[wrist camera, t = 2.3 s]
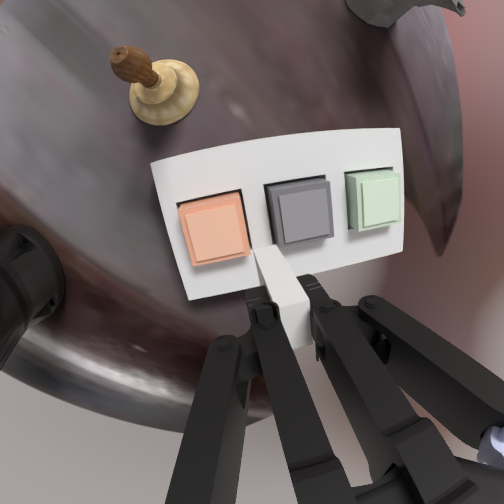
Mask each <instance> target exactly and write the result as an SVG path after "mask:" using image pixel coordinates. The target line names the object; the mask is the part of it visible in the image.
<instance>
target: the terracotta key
mask: <svg viewBox="0 0 504 504" xmlns="http://www.w3.org/2000/svg"><path fill="white" fill-rule="evenodd" d="M178 213H179V217H180V221H181V225H182V229H183V233H184V236H185V240H186V244H187V247H188V251H189V255H190V258H191V262H192V265H193V267H194V266H199V265H204V264H209V263H214V262H218V261H223V260H228V259H233V258H237V257H242V256H247V255H251V252H250V247H249V242H248V236H247V231H246V226H245V220H244V215H243V210H242V205H241V199H240V196H239V193H238V191H237V192H232V193H227V194H222V195H217V196H213V197H208V198H203V199H199V200H194V201H190V202H186V203H182V204H181V205H180V207H179V209H178Z"/></svg>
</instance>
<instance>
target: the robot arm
mask: <svg viewBox="0 0 504 504" xmlns="http://www.w3.org/2000/svg"><path fill="white" fill-rule="evenodd" d="M253 253H254V258H255V263H256V268H257V273H258V278H259V283H260V286H259V287H255V288H251V289H247V290H246V293H245V295H244V296H245V300H246V304H247V309H248V314H249V318H250V322H251V327H250V329H249V330H248V332H247V333H245V334H244V335H242V336H240V337H238V338H237V337H235V336H233V335H222V336H219V337H217V338H215V339H214V340H213V341H212V342H211V344H210V345H209V348H208V352H207V355H206V359H205V362H204V365H203V369H202V372H201V376H200V379H199V382H198V386H197V389H196V393H195V396H194V400H193V403H192V407H191V410H190V414H189V417H188V421H187V424H186V428H185V431H184V435H183V439H182V442H181V446H180V449H179V453H178V456H177V460H176V464H175V467H174V471H173V475H172V478H171V482H170V486H169V489H168V493H167V497H166V501H165V504H235V502H236V495H237V487H238V480H239V473H240V466H241V458H242V450H243V443H244V435H245V427H246V420H247V412H248V403H249V395H250V387H251V379H253V378H255V377H257V376H258V375H260V374H262V373H263V374H264V378H265V382H266V386H267V390H268V394H269V398H270V402H271V406H272V409H273V413H274V417H275V421H276V424H277V428H278V432H279V436H280V440H281V443H282V447H283V451H284V454H285V458H286V462H287V465H288V469H289V473H290V477H291V480H292V483H293V487H294V491H295V494H296V498H297V501H298V504H504V381H503V380H502V379H501V378H499V377H498V376H496V375H495V374H494V373H492V372H491V371H489V370H488V369H487V368H485V367H484V366H483V365H481V364H480V363H478V362H477V361H475V360H474V359H473V358H471V357H470V356H468V355H467V354H465V353H464V352H462V351H461V350H460V349H458V348H457V347H455V346H454V345H452V344H451V343H450V342H448V341H447V340H445V339H444V338H442V337H441V336H439V335H438V334H436V333H435V332H433V331H432V330H430V329H429V328H427V327H426V326H424V325H423V324H421V323H420V322H418V321H417V320H415V319H414V318H412V317H410V316H409V315H408V314H406V313H404V312H403V311H401V310H400V309H399V308H397V307H395V306H394V305H392V304H391V303H389V302H388V301H386V300H385V299H383V298H381V297H379V296H375V295H369V296H365V297H362V298H361V299H360V300H359V302H358V305H357V306H342V305H341V304H340V303H339V302H338V301H336V300H333V299H331V298H330V297H329V296H328V294H327V293H326V291H325V290H324V289H323V287H322V286H321V285H320V283H319V282H318V280H317V279H316V278H315V277H314V276H312V275H310V274H305V275H301V276H297V277H296V276H295V275H294V273H293V271H292V270H291V268H290V267H289V265H288V263H287V262H286V260H285V258H284V257H283V255H282V254H281V252H280V250H279V249H278V247H277V245H276V244H275V245H270V246H266V247H262V248H257V249H253ZM64 291H65V282H64V275H63V271H62V267H61V264H60V262H59V260H58V257H57V255H56V253H55V252H54V250H53V248H52V247H51V245H50V244H49V243H48V242H47V240H46V239H45V238H44V237H43V236H42V235H41V234H40V233H38V232H37V231H36V230H34V229H33V228H31V227H28V226H26V225H13V226H11V227H9V228H7V229H5V230H4V231H2V232H1V233H0V370H1V368H2V367H3V365H4V363H5V362H6V360H7V358H8V357H9V355H10V354H11V352H12V350H13V349H14V347H15V346H16V344H17V343H18V341H19V340H20V338H21V337H22V335H23V334H24V332H25V331H26V330H27V329H28V328H29V327H31V326H33V325H35V324H36V323H38V322H40V321H42V320H44V319H46V318H48V317H49V316H50V315H52V314H53V313H54V311H55V310H56V309H57V308H58V306H59V305H60V303H61V302H62V299H63V296H64ZM382 334H383V335H384V336H383V335H382ZM312 337H313V339H314V341H315V344H316V360H317V361H319V358H320V360H321V362H322V364H323V366H324V368H325V370H326V373H327V375H328V377H329V379H330V381H331V383H332V385H333V387H334V389H335V392H336V394H337V396H338V398H339V400H340V402H341V404H342V406H343V409H344V411H345V413H346V415H347V417H348V419H349V421H350V423H351V425H352V428H353V430H354V432H355V434H356V437H357V439H358V441H359V443H360V445H361V447H362V450H363V452H364V454H365V456H366V458H367V461H368V464H369V471H370V476H371V479H372V481H373V484H368V485H363V486H358V487H351V486H350V483H349V481H348V478H347V476H346V474H345V471H344V468H343V466H342V464H341V462H340V460H339V459H338V458H337V457H336V456H335V455H334V453H333V450H332V448H331V445H330V443H329V441H328V438H327V435H326V433H325V430H324V428H323V425H322V423H321V420H320V417H319V415H318V413H317V410H316V408H315V405H314V402H313V400H312V398H311V395H310V392H309V390H308V387H307V385H306V382H305V380H304V377H303V375H302V372H301V369H300V367H299V364H298V362H297V360H296V357H295V354H294V352H293V350H294V349H297V348H301V347H304V346H308V345H311V344H313V339H312ZM399 387H401V388H402V389H403V390H404V391H405V392H406V393H407V394H408V395H409V396H411V397H412V398H413V399H414V400H415V401H416V402H418V404H420V405H421V406H422V407H423V408H424V409H425V410H427V411H428V412H429V413H430V414H431V415H432V416H433V417H434V418H435V419H437V420H438V421H439V422H440V423H441V424H442V425H443V426H444V427H446V428H447V429H448V430H449V431H450V432H451V433H452V434H453V435H455V436H456V437H457V438H458V439H460V440H461V441H462V442H464V443H465V444H467V445H469V446H471V447H472V448H475V449H477V450H479V452H478V454H477V460H478V461H479V462H480V463H479V462H474V461H471V460H467V459H463V458H460V457H456V456H454V455H453V453H452V452H451V450H450V449H449V447H448V445H447V444H446V443H445V440H444V439H443V437H442V436H441V434H440V433H439V431H438V429H437V428H436V426H435V425H434V423H433V422H432V421H431V420H430V419H428V418H425V417H424V418H421V417H419V416H418V415H417V414H416V412H415V411H414V409H413V408H412V406H411V405H410V403H409V402H408V400H407V398H406V397H405V395H404V394H403V392H402V391H401V389H400V388H399ZM484 462H486V463H487V464H488V465H487V464H482V463H484Z"/></svg>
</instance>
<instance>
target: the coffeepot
mask: <svg viewBox="0 0 504 504" xmlns="http://www.w3.org/2000/svg"><path fill="white" fill-rule="evenodd" d="M345 1H346V3H347V6H348V7H349V8H350V9H351V10H352V11H353V12H354V13H355V14H356V15H357V16H358V17H359V18H361V19H362V20H364V21H365V22H366V23H368V24H371V25H374V26H378V27H385V28H388V27H390V26H391V25H392V24H393V23H394V22H395V21H397V20H398V19H399V18H400V17H401V16H402V15H404V14H405V13H406V12H407V11H408V10H410V9H411V8H412V7H413V6H418V7H421V6H426V5H436V6H439V7H443V8H446V9H449V10H451V11H454V12H456V13H458V14H459V15H460V16H461V17H462V16H464V15H465V13H466V12H465V9H464V8H465V6H464V4H463V1H462V0H345Z"/></svg>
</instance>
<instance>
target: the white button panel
mask: <svg viewBox="0 0 504 504" xmlns="http://www.w3.org/2000/svg"><path fill="white" fill-rule="evenodd" d="M150 164H151V168H152V173H153V177H154V181H155V185H156V189H157V193H158V197H159V201H160V205H161V209H162V213H163V217H164V220H165V224H166V228H167V231H168V235H169V238H170V242H171V245H172V248H173V252H174V255H175V258H176V262H177V265H178V268H179V271H180V275H181V278H182V281H183V284H184V287H185V290H186V293H187V296H188V299H189V300H194V299H199V298H204V297H209V296H214V295H219V294H224V293H229V292H234V291H239V290H244V289H248V288H253V287H258V286H260V283H259V278H258V273H257V268H256V263H255V258H254V253H253V249H257V248H262V247H266V246H270V245H275V244H276V245H277V247H278V249H279V250H280V252H281V254H282V255H283V257H284V258H285V260H286V262H287V263H288V265H289V267H290V268H291V270H292V271H293V273H294V275H295V276H296V277H297V276H301V275H305V274H310V275H311V274H315V273H319V272H323V271H327V270H331V269H336V268H340V267H344V266H348V265H351V264H356V263H360V262H364V261H367V260H371V259H375V258H379V257H382V256H386V255H390V254H394V253H398V252H401V251H402V250H403V230H404V177H403V158H402V145H401V134H400V128H364V129H344V130H330V131H318V132H308V133H299V134H290V135H282V136H275V137H268V138H261V139H255V140H249V141H243V142H238V143H232V144H227V145H222V146H217V147H212V148H207V149H203V150H198V151H194V152H190V153H185V154H181V155H177V156H173V157H169V158H165V159H162V160H158V161H155V162H152V163H150ZM380 169H389V170H393V171H397V172H400V175H401V223H398V224H393V225H388V226H384V227H379V228H374V229H370V230H365V231H360V232H358V231H357V230H355V229H354V228H353V227H351V226H350V225H348V222H347V205H346V191H345V179H344V174H346V173H354V172H362V171H371V170H380ZM317 177H320V178H323V179H325V180H328V181H330V188H331V199H332V211H333V225H334V237H332V238H327V239H323V240H318V241H313V242H309V243H304V244H299V245H294V246H290V247H285V248H279V246H278V244H277V243H276V241H275V239H274V235H273V229H272V222H271V216H270V209H269V203H268V197H267V191H266V186H268V185H274V184H280V183H285V182H291V181H298V180H304V179H310V178H317ZM237 191H238V193H239V196H240V199H241V205H242V210H243V215H244V220H245V226H246V231H247V236H248V242H249V247H250V252H251V255H247V256H242V257H237V258H233V259H228V260H223V261H218V262H214V263H209V264H204V265H199V266H194V267H193V265H192V262H191V258H190V255H189V251H188V247H187V244H186V240H185V236H184V233H183V229H182V225H181V221H180V217H179V213H178V209H179V207H180V205H181V204H182V203H186V202H190V201H194V200H199V199H203V198H208V197H213V196H217V195H222V194H227V193H232V192H237Z"/></svg>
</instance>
